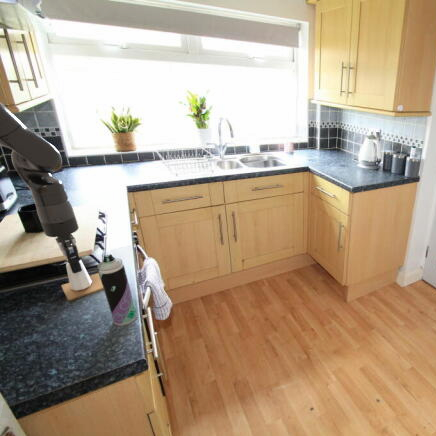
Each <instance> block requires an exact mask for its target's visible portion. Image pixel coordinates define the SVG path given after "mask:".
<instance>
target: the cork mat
mask: <svg viewBox="0 0 436 436" xmlns="http://www.w3.org/2000/svg"><path fill="white" fill-rule="evenodd" d="M89 276H90V278H91V280H92V283H91V285H90V286H89V287H87V288H85V289H83V290H78V291H75V290H72V289H71V288H70V283H69V282H67V283H64V284H61V285H60V286H61V288H62V290H63V293H64V295H65V297H66V299H67V301H68V302H72V301H74V300H78V299H81V298H83V297H86V296H88V295H91V294H93V293H96V292H99V291H102V290H104V289H103V286H102V282H101V279H100V276H99V273H98V272H97V273H93V274H91V275H89Z"/></svg>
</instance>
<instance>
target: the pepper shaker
mask: <svg viewBox="0 0 436 436" xmlns="http://www.w3.org/2000/svg"><path fill="white" fill-rule="evenodd" d="M64 257H65V259H66V261H68V260H67V257H66V256H64ZM72 258H74V257H72ZM79 263H80V266H81V269H82V271H80V272H77V273H73V272H72V270H71V267H70V264H69V263H68V262H66V264H65V267H66V272H67V277H68V283H70V288H71V289H72V290H75V291H78V290H83V289H85V288H87V287H89V286H90V285H91V283H92V280H91V278H90V276H91V275H90V274H89V273H88V270H87V269H86V266H85V265H84V262H83V261H82V260H81V259H80V261H79Z"/></svg>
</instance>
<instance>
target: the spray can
mask: <svg viewBox="0 0 436 436" xmlns="http://www.w3.org/2000/svg"><path fill="white" fill-rule="evenodd" d="M97 273H99V276H100V279H101V282H102V286H103V289H102V290H103V293H104V295H105V298H106V302H107V305H108V308H109V311H110V314H111V317H112V321H113V323H114V325H115V326H120V327H123V326H127V325H130V324H131V323H133V322H135V320H136V319H137V318H138V312H137V309H136V305H135V302H134V297H133V294H132V290H131V287H130V283H129V279H128V276H127V271H126V269H125V265H124V262H123V260H122V259H121V258H116V257H114V256H113V255H112V254H111V253H109V254H106V255H103V259H102V261H101V262H99V263H98V264H97Z"/></svg>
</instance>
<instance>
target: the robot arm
mask: <svg viewBox="0 0 436 436" xmlns="http://www.w3.org/2000/svg"><path fill="white" fill-rule="evenodd" d="M0 146H1V147H5V148H8V149H10V150H12V151H11V156H10V157H11V162H12V166H13V168H14V169H15V171H16V172H17V174H18V175H19V177H20V178H21V180H22V181H23V182H24V184H25V185H26V186H27V188H28V189H29V190H30V193H31V196H32V199H33V201H34V205H35V208H36V214H37V216H38V219H39V221H40V224H41V227H42V230H43V233H44V235H45V236H47V237H49V238H55V241H56V244H57V245H58V247H59V251H60V252H61V253H62V255H63V256H64V257H65V256H66V257H67V259H66V261H67V260H68V261H67V262H68V263H69V264H70V267H71V270H72V272H73V273H77V272H80V271H82V269H81V266H80V263H79V261H80V260H81V257H80V256H79V248H78V247H77V241H76V238H75V236H74V235H73V234H74V233H76V232H77V231H78V230H79V227H80V226H79V224H78V220H77V218H76V215H75V212H74V209H73V208H74V207H73V206H72V203H71V201H70V199H69V197H68V193H67V191H66V187H65V185H64V183H63V182H62V181H61V180H60V179H58V178H55V177H54V176H52V174H51V173H55V172H57V171H59V170H60V169H61V168H62V166H63V165H62V164H63V158H62V155H61V153H60V152H59V150H58V149H57V148H56V147H55V146H54V145H53V144H51V143H50V142H48V141H47V140H46V139H44V138H43V137H42V136H41V135H39V134H38V133H36V132H34V131H33V130H31V129H30V128H28V127H27V126H26V125H25V124H24V123H23V122H22V121H21V120H20V119H19V118H18V117H17V116H16V115H15V114H14V113H12V111H11V110H9V109H8V107H6V106H5V104H3V103H2V102H1V101H0ZM72 257H74V258H72ZM67 262H66V263H67Z"/></svg>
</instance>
